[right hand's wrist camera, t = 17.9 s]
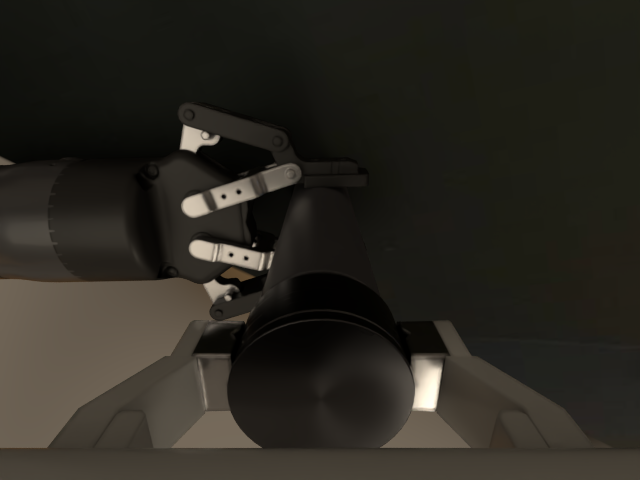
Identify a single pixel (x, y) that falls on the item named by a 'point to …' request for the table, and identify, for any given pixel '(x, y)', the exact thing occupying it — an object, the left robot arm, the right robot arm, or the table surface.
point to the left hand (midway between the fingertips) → (364, 214)
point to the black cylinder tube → (320, 239)
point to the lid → (320, 367)
